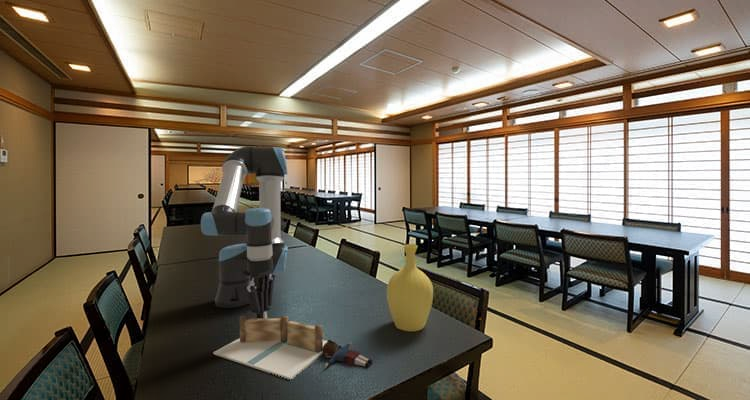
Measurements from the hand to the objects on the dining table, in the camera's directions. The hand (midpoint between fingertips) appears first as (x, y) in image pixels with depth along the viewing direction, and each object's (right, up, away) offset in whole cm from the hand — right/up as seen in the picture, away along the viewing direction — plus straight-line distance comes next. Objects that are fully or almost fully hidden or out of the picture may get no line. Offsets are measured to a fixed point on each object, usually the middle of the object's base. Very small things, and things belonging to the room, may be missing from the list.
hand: (262, 331), depth 103 cm
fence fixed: (+15, -2, -6) cm, 16 cm away
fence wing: (+2, -1, -3) cm, 4 cm away
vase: (+48, -2, +11) cm, 49 cm away
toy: (+28, -4, -12) cm, 30 cm away
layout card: (+6, -3, -7) cm, 9 cm away
